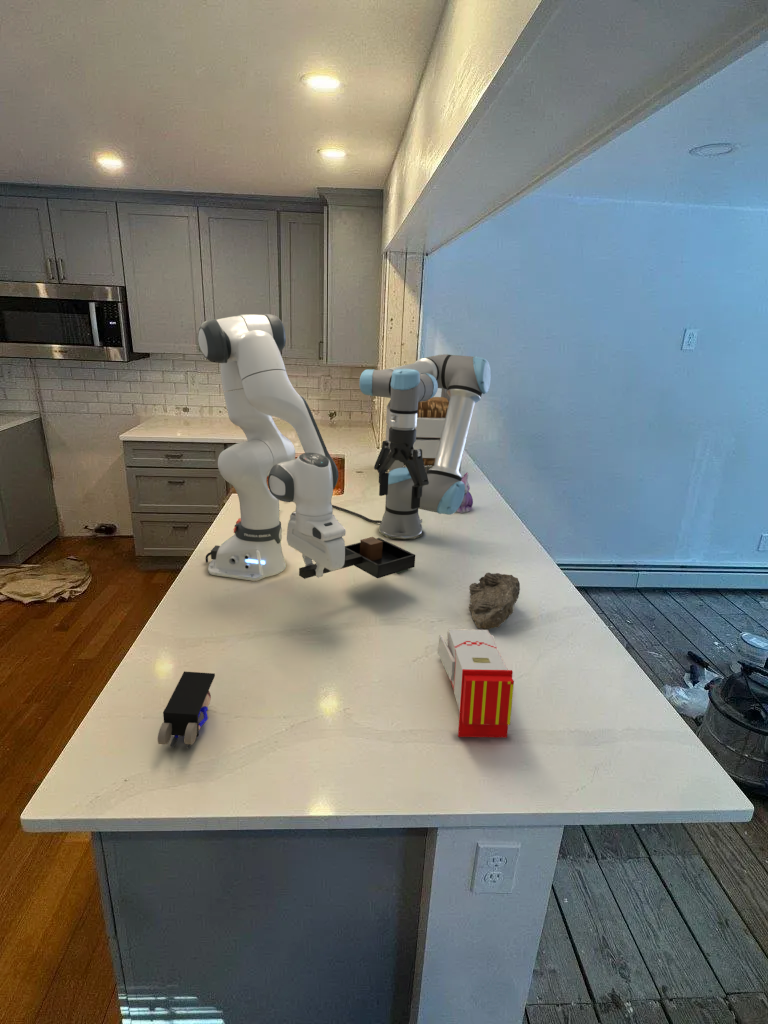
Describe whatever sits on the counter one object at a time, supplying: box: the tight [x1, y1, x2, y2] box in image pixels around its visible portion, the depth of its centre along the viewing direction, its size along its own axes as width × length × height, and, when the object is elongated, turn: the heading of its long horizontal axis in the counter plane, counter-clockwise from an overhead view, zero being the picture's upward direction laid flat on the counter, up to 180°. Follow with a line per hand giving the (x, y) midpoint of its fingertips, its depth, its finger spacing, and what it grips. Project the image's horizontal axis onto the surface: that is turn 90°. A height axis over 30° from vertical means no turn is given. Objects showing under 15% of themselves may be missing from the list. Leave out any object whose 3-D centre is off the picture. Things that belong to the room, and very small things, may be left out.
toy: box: [437, 628, 515, 738], centre depth 117 cm, size 12×13×30 cm
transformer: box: [384, 389, 463, 475], centre depth 268 cm, size 34×33×41 cm
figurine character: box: [157, 670, 216, 749], centre depth 104 cm, size 7×8×15 cm
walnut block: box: [359, 536, 383, 561], centre depth 156 cm, size 4×4×5 cm
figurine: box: [455, 472, 474, 514], centre depth 225 cm, size 9×10×15 cm
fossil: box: [468, 572, 521, 630], centre depth 149 cm, size 22×10×15 cm
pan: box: [298, 537, 417, 580], centre depth 148 cm, size 15×31×4 cm, turn 131°
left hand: (314, 573), depth 141 cm, fingers closed on pan, 2 cm apart
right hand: (398, 501), depth 162 cm, fingers open, 13 cm apart
